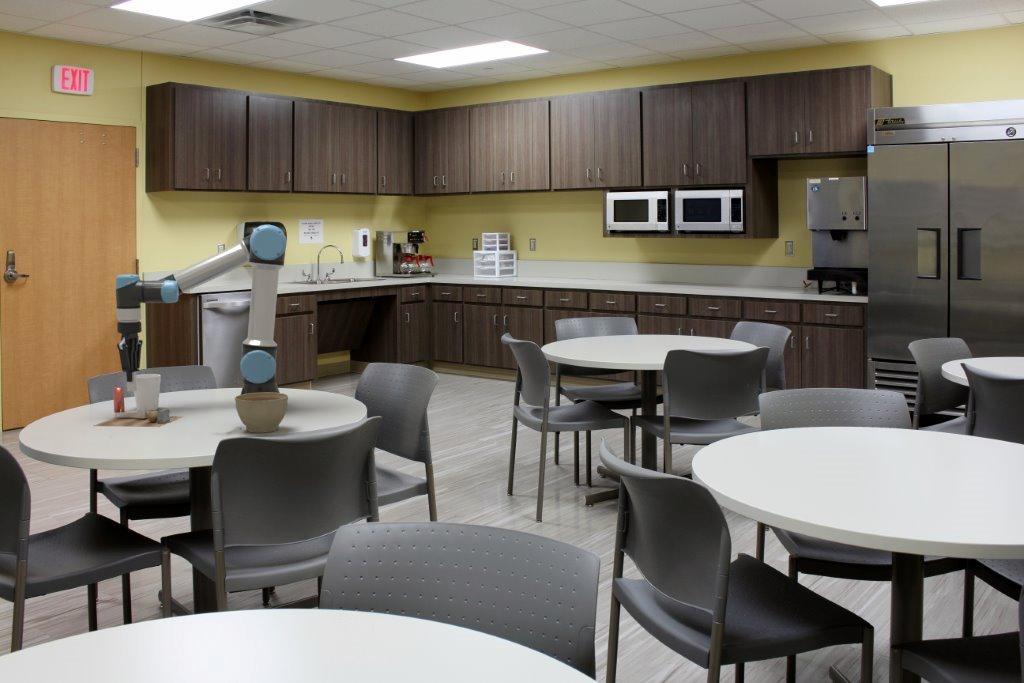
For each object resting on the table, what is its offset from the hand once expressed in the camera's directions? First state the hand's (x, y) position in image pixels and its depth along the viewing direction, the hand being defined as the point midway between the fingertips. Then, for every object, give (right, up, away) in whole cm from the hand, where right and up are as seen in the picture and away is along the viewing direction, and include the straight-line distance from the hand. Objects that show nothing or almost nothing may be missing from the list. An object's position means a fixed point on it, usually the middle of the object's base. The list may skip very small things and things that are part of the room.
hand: (131, 390), depth 318 cm
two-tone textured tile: (+16, -9, -14) cm, 23 cm away
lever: (+6, -8, -7) cm, 13 cm away
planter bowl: (+49, -12, -20) cm, 55 cm away
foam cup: (+1, -8, +11) cm, 14 cm away
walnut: (+12, -8, -14) cm, 20 cm away
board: (+7, -11, -12) cm, 17 cm away
